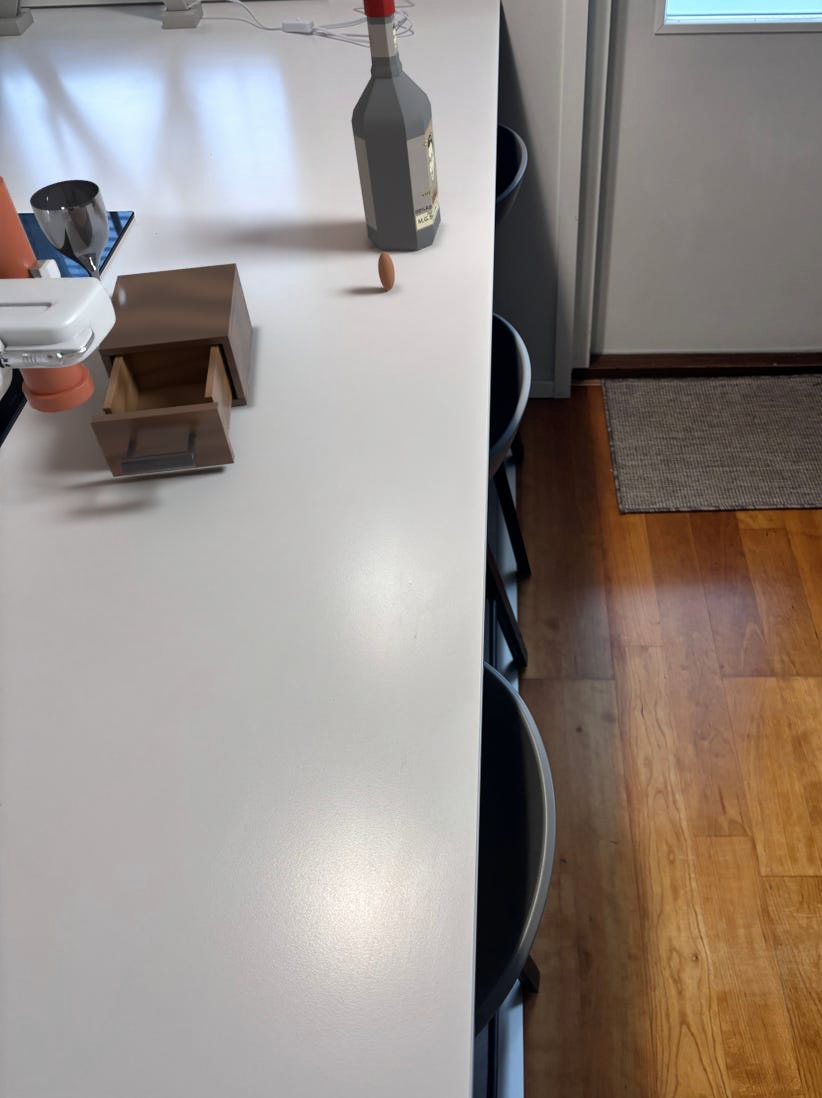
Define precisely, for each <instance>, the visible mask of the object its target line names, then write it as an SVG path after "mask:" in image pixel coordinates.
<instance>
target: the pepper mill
mask: <svg viewBox="0 0 822 1098" xmlns="http://www.w3.org/2000/svg"><path fill="white" fill-rule="evenodd" d="M35 260H37V257H36V255H35V253H34V250H33V248H32V244H31V243H30V240H29V238H28V236H27V233H26V231H25V228H24V225H23V223H22V221H21V218H20V216H19V213H18V211H17V208H16V206H15V204H14V202H13V199H12V197H11V194H10V192H9V189H8V187H7V184H6V181H5V179H4V178H3V176H2V175H0V279H27V278H33V277H32V275H31V272H30V270H29V268H30V267H31V265H32V264H34V261H35ZM18 369H19V372H20V374H21V376H22V378H23V382H22V385H21V389H22V392H23V394H24V396H25V398H26V400H27V402H28V405H29V407H31V408H32V409H33V410H35V411H37V412H40V413H49V414H53V413H61V412H66V411H69V410H71V409H75V408H76V407H78V406H81V405H83V404H84V403H85V402H86V401H88V400H89V399H90V398H91V397H92V395H93V393H94V390H95V383H94V381H93V379H92V377H91V373H90V371H89V369H88V368H87V367H86V366H85V365H84V364H82V363H81V362H80V363H78V364H75V365H72V366H68V367H61V368H18Z"/></svg>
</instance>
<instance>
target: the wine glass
mask: <svg viewBox="0 0 822 1098" xmlns="http://www.w3.org/2000/svg"><path fill="white" fill-rule="evenodd" d="M29 205H30V207H31V209H32V212H33V214H34V216H35V219H36V221H37V223H38V225H39V227H40V229H41V231H42V233H43V234H44V236H45V237H46V239H47V240H48V242H49V243H50V245H51V246H52V248H54V250H56V251H57V252H58V253H60V254H61V255H62V256H64V257H66V258H67V259H69V260H71V261H73V262H74V263H76V264H78V265H79V266H80V267H81V268H82V269H84V271H85V272H86V273H87V275H88V277H93V278H97V279H98V280H99V281H100V282H101V283H102V281H101V275H100V272H99V268H100V267H99V265H100V262H101V257H102V255H103V253H104V251H105V249H106V247H107V245H108V241H109V238H110V226H109V225H110V224H109V217H108V213H107V208H106V205H105V200H104V197H103V195H102V192H101V189H100V187H99V185H98V184H97V183H95V182H93V181H92V180H91V181H90V180H86V179H68V180H62V181H57V182H54V183H51V184H48V185H46V186H44V187H42V188H40V189H38V190H37V191H35V192H34V193H33V194H32V195H31V197H30V199H29ZM109 297H110V296H109ZM111 299H112V296H111V297H110V300H111Z"/></svg>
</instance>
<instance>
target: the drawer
mask: <svg viewBox="0 0 822 1098" xmlns="http://www.w3.org/2000/svg"><path fill="white" fill-rule="evenodd" d="M108 380H109V381H108V385H107V389H106V393H105V397H104V401H103V404H102V405H103V406H102V411H103V413H104V414H97V415H91V419H90V422H89V423H90V426H91V428H92V430H93V433H94V435H95V438H96V440H97V442H98V444H99V447H100V449H101V451H102V454H103V457H104V458H105V461H106V463H107V466H108V467H109V470H110V473H111V475H112V477H114V478H118V477H127V476H134V475H135V476H136V475H143V474H153V473H161V472H170V471H171V472H172V471H180V470H187V469H188V470H190V469H197V468H198V469H199V468H206V467H214V466H224V465H233V464H235V458H236V456H235V453H234V450H233V446H232V443H231V439H230V436H229V434H230V425H231V424H230V423H231V415H232V406H231V404H232V393H233V380H232V377H231V373H230V370H229V366H228V363H227V359H226V356H225V352H224V349H223V345H222V344H212V345H203V346H194V347H185V348H176V349H167V350H158V351H148V352H139V353H130V354H121V355H115V359H114V363H113V368H112V372H111V376H110V379H108Z"/></svg>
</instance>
